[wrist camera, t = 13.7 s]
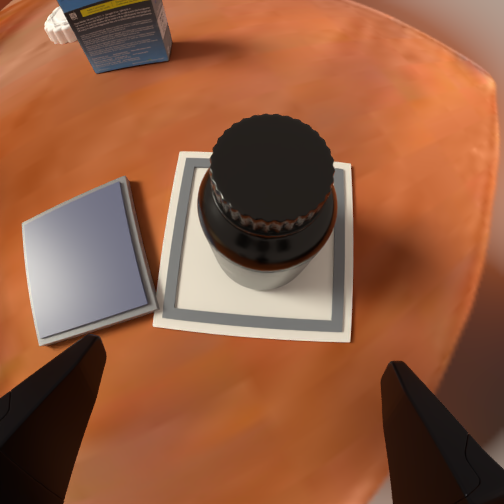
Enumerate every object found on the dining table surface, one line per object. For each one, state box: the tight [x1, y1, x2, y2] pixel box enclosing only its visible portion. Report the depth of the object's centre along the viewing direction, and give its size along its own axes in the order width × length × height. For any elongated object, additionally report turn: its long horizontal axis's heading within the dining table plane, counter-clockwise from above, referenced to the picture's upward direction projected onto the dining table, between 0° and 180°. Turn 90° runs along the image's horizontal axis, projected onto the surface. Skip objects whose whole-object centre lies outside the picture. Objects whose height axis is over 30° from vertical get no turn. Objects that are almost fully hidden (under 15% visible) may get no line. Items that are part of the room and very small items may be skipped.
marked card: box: [153, 152, 353, 342], centre depth 23 cm, size 14×14×1 cm
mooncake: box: [45, 6, 77, 44], centre depth 31 cm, size 12×12×4 cm
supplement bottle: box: [197, 114, 338, 290], centre depth 17 cm, size 7×7×12 cm
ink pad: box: [22, 176, 160, 346], centre depth 23 cm, size 11×11×1 cm
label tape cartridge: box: [57, 0, 172, 74], centre depth 23 cm, size 9×4×12 cm, turn 91°
